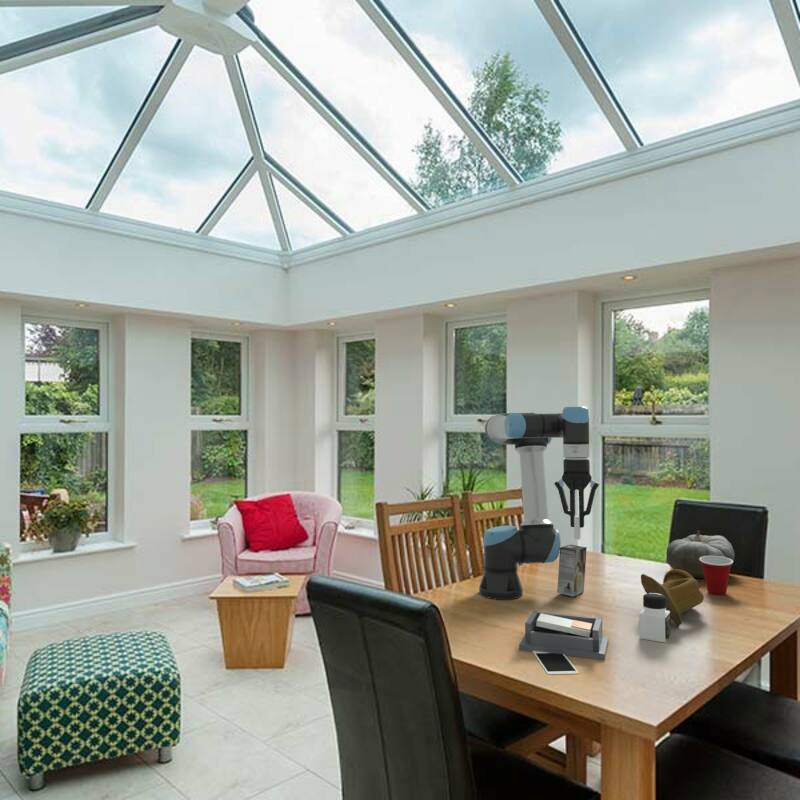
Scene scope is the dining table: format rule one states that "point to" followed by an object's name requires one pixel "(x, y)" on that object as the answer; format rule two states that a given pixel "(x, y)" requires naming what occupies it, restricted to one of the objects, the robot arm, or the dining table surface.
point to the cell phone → (555, 663)
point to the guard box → (565, 638)
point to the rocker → (564, 625)
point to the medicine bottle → (654, 619)
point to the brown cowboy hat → (675, 592)
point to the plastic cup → (716, 573)
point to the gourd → (697, 552)
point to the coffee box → (571, 570)
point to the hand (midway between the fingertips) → (577, 538)
